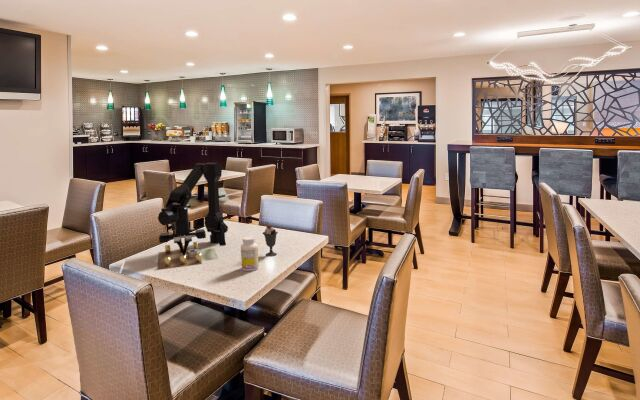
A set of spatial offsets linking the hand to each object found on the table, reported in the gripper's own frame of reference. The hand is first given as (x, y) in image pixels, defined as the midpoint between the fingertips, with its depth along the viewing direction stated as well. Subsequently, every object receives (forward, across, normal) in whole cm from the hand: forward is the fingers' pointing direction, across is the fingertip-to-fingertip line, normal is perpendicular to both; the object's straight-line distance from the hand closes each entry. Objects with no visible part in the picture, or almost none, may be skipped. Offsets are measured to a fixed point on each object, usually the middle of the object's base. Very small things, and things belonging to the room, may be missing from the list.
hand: (184, 254), depth 173 cm
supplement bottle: (+2, -25, +22) cm, 33 cm away
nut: (+1, -4, 0) cm, 4 cm away
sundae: (+2, -36, +8) cm, 37 cm away
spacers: (+1, +1, 0) cm, 1 cm away
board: (+2, 0, 0) cm, 2 cm away
